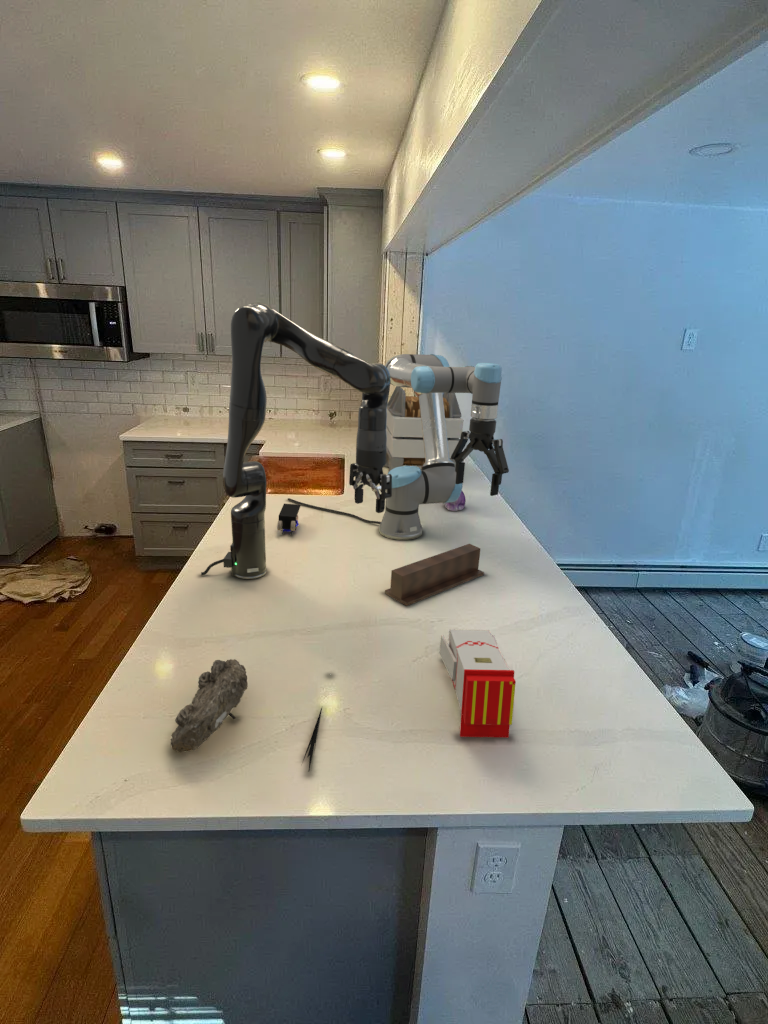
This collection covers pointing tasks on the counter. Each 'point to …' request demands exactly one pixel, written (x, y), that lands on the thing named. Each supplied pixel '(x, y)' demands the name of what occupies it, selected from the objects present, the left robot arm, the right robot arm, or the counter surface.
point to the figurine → (457, 503)
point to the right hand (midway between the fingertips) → (476, 489)
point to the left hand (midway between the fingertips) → (369, 507)
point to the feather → (313, 740)
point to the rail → (434, 574)
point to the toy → (479, 682)
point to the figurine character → (288, 518)
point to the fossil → (210, 704)
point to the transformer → (416, 429)
